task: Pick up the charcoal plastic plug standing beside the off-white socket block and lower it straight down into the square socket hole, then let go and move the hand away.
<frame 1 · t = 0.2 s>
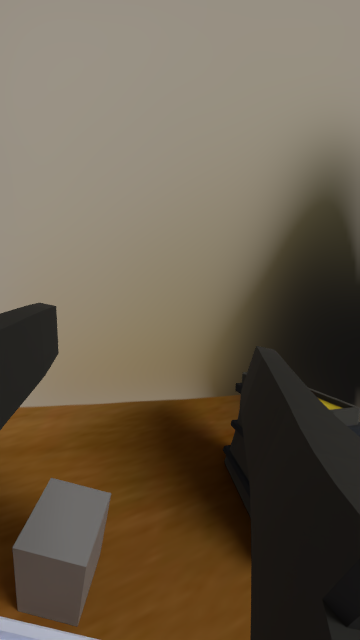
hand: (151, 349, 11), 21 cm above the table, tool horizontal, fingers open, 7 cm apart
plug: (62, 580, 21), on the table
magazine: (252, 497, 30), on the table
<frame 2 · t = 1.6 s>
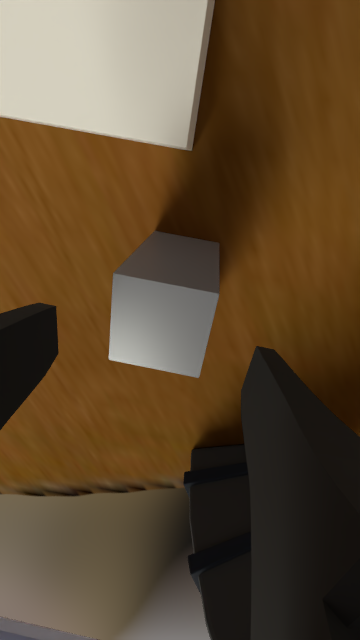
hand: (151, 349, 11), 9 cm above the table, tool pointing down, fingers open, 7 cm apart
plug: (181, 268, 19), on the table
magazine: (266, 450, 26), on the table
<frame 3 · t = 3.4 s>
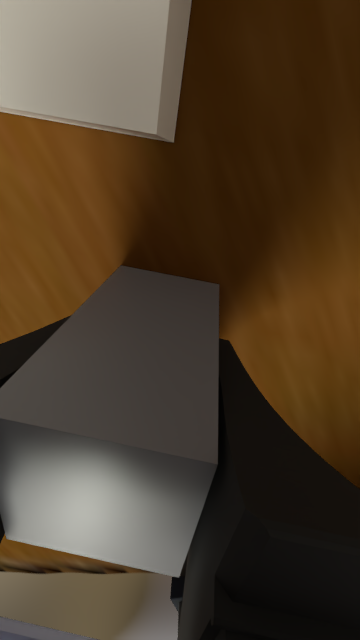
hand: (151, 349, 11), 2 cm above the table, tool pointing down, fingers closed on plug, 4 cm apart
plug: (163, 318, 13), on the table, touching gripper
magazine: (281, 540, 20), on the table
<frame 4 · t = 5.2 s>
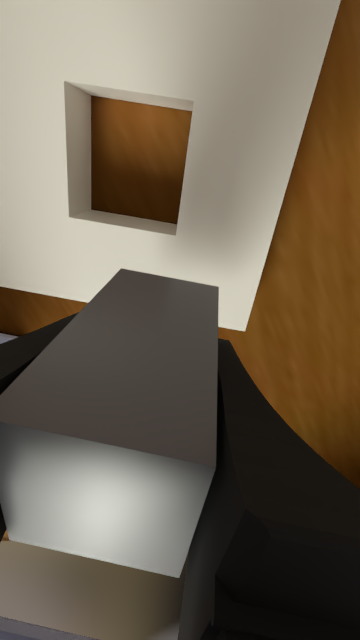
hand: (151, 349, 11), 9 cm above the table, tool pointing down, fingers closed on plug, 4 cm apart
plug: (163, 320, 13), point 7 cm above the table, touching gripper
socket: (140, 165, 16), on the table
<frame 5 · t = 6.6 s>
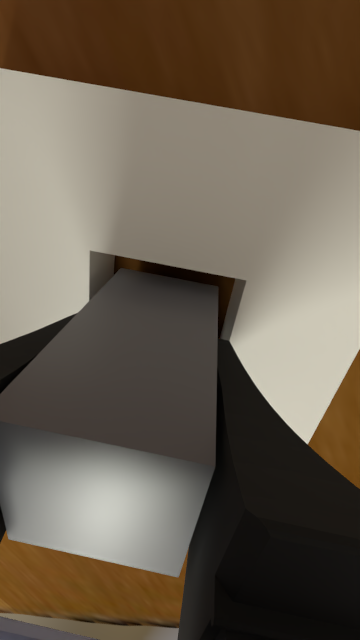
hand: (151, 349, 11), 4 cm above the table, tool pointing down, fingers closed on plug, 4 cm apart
plug: (163, 320, 13), point 2 cm above the table, touching gripper
socket: (169, 301, 14), on the table
when the fingers open (4 cm above the table, at t = 7.5 s): plug drops 1 cm, resting in socket.
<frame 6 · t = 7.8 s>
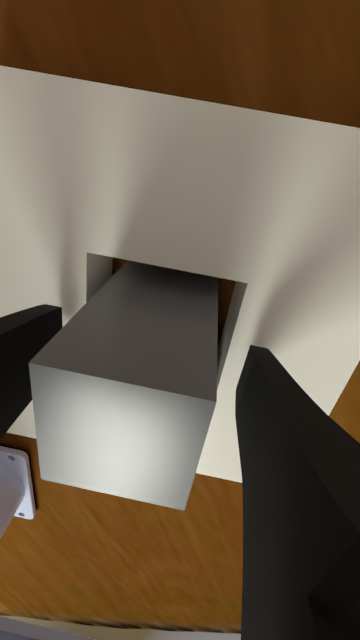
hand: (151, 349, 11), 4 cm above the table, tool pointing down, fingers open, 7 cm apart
plug: (167, 305, 14), resting in socket
socket: (168, 304, 14), on the table
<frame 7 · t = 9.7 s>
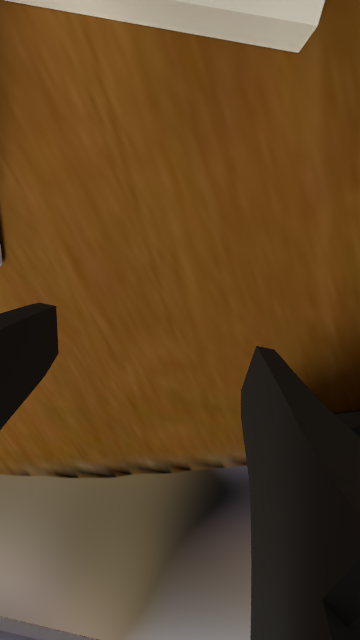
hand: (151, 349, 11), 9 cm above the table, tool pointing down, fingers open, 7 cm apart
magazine: (331, 424, 24), on the table
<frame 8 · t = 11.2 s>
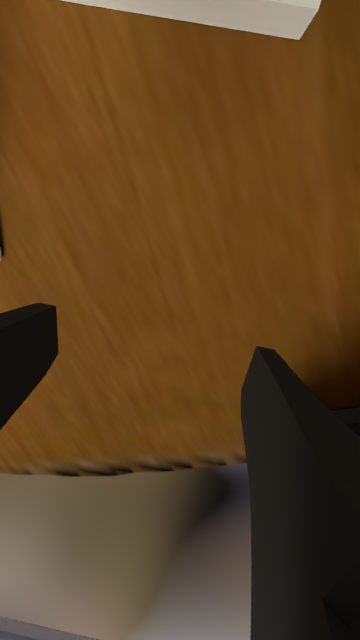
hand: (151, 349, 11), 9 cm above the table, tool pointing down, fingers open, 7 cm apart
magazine: (335, 420, 23), on the table
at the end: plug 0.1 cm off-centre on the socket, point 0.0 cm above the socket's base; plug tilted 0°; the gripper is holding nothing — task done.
